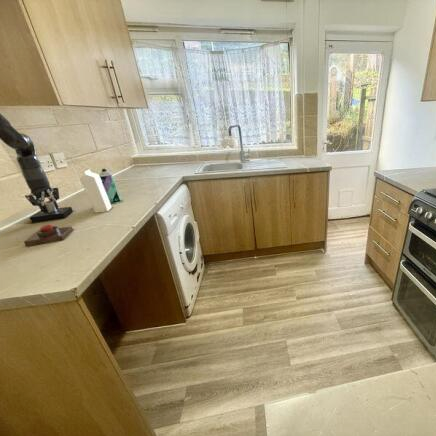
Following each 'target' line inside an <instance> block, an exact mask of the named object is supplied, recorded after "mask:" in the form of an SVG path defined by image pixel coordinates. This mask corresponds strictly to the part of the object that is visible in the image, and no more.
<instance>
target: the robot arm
mask: <svg viewBox="0 0 436 436" xmlns="http://www.w3.org/2000/svg"><path fill="white" fill-rule="evenodd" d="M0 141H2V142H3V143H4V144H5V145H6V146H7V147H8V148H11V149H13V150H14V151H15V153H16V163H17V164H18V166H19V169H20V172H21V174H22V177H23V179H24V181H25V183H26V185H27V187H28V189H30V193H29V194H25V195H24V198H26V200H27V201H28V202H29V203H30V204H31V205H32V206H33V207H38V208H39V211H40V210H41V211H42V212H43V213H47V212H48V211H47V208H46V206H45V205H44V202H46V201H45V200H46V199H47V200H48V201H50V200H52V201H53V203H54V205H55V207H56V209H58V208H59V205H58V202H57V201H58V200H60V191H59V187H52V186H51V184H50V181H49V179H48V177H47V174H46V172H45V170H44V168H43V167H42V164H41V162H40V160H39V158H38V155H37V151H36V147H35V144H34V141H33V140H32V138H31V137H30V136H28V135H27V134H26V133H23V132H19V131H18V130H17V129H16V128H15V127H14V126H13V125H12V123H11V122H10V120H9V119H7V117H5V115H3V114H2V113H1V112H0Z"/></svg>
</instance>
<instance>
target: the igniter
mask: <svg viewBox="0 0 436 436" xmlns="http://www.w3.org/2000/svg"><path fill="white" fill-rule="evenodd" d="M52 227H53V230H50V231H47V232H41V230H40V229H38V230H37V231H35V232H34V233H33V234H32V235H30V236H29V237H28V238H26V239H25V240H24V241H23V243H24V245H25V247H26V248H27V247H32V246H38V245H39V246H40V245H45V244H50V243H56V242H61V241H65V239H66V238H67V237H68V236H69V235H70V234H71V233H72V232H73V231H74V229H73V227H72V226H63V227H58V226H54V225H52Z"/></svg>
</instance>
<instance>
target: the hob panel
mask: <svg viewBox="0 0 436 436" xmlns="http://www.w3.org/2000/svg"><path fill="white" fill-rule="evenodd" d="M73 212H74V210H73V208H72V206H64V207H58V209H57V211H56V212H53V213H43V212H42V211H41V210H40V209H39V211H37V212H35V213H34V214H33V215H31V216H29V220H30V221H31V223H32V224H36V223H42V222H43V223H44V222H51V221H58V220H64V219H66V218H68V217H69V216H70V215H71V214H72V213H73Z"/></svg>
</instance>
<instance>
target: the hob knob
mask: <svg viewBox="0 0 436 436" xmlns="http://www.w3.org/2000/svg"><path fill="white" fill-rule="evenodd" d="M44 205H45V206H46V208H47V211H48V212H47V213H53V212H56V211H57V209H56V207H55V205H54V203H53V201H52V200H47V201H44Z"/></svg>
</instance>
